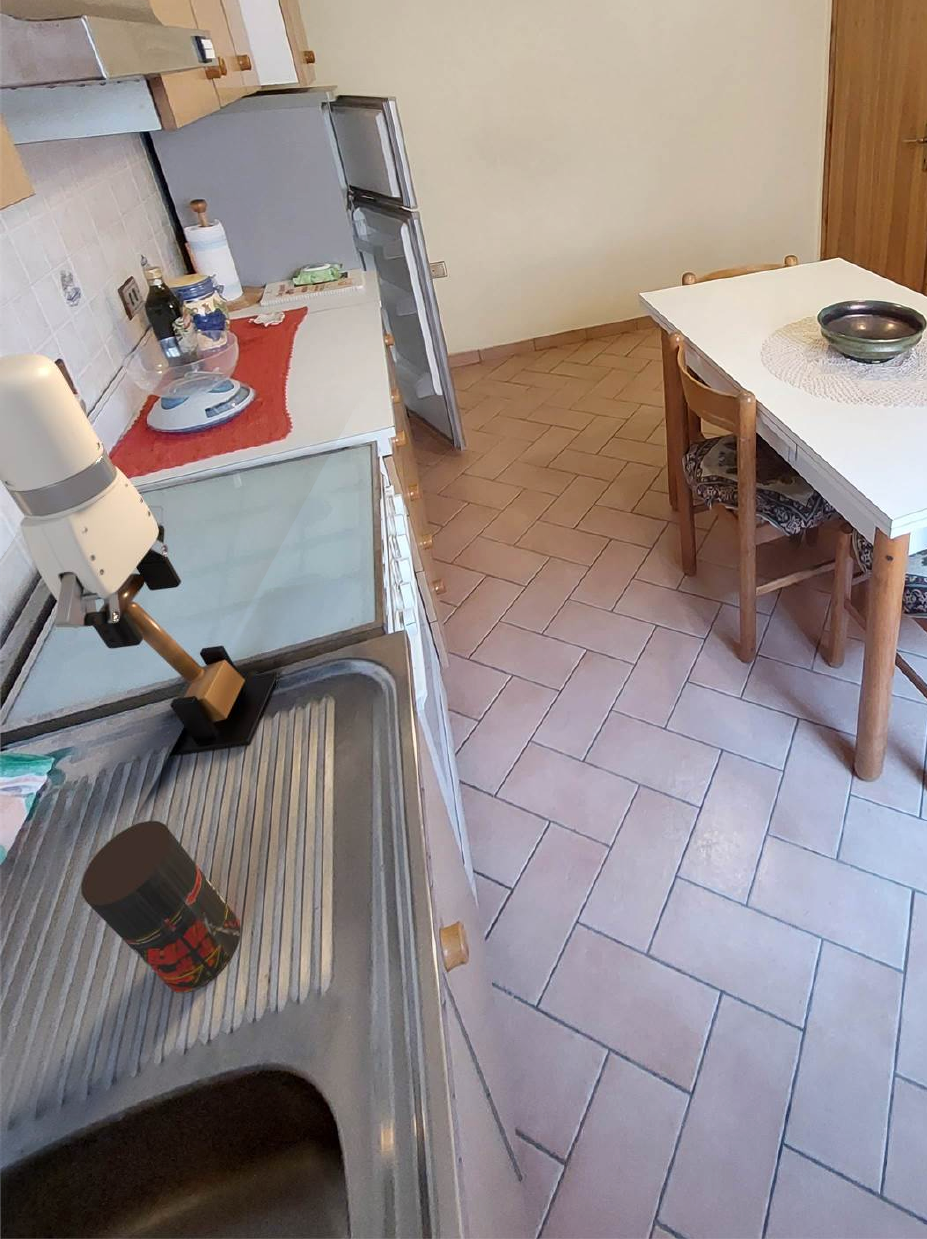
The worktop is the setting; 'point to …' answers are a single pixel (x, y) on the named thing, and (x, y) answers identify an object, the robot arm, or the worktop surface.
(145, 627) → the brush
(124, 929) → the deodorant
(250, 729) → the brush stand
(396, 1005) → the worktop surface
